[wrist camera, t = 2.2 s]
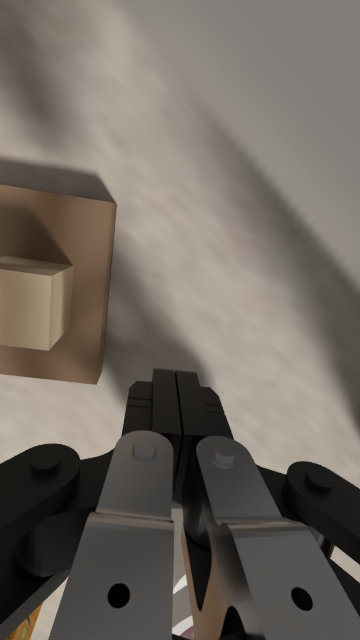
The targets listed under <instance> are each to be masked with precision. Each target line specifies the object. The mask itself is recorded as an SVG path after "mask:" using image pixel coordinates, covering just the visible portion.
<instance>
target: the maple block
mask: <svg viewBox="0 0 360 640" xmlns="http://www.w3.org/2000/svg"><path fill="white" fill-rule="evenodd" d="M72 282H73V265H66V264H59V263H52V262H45V261H38V260H31V259H24V258H17V257H10V256H3V257H0V345H6V346H14V347H22V348H31V349H39V350H48V351H49V350H50V349H51V347H52V346H53V345H54V344H55V343H56V342H57V341H58V340H59V338H60V337H61V336H62V335H63V334H64V333H65V332H66V331H67V330H68V328H69V327H70V319H71V301H72Z"/></svg>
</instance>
